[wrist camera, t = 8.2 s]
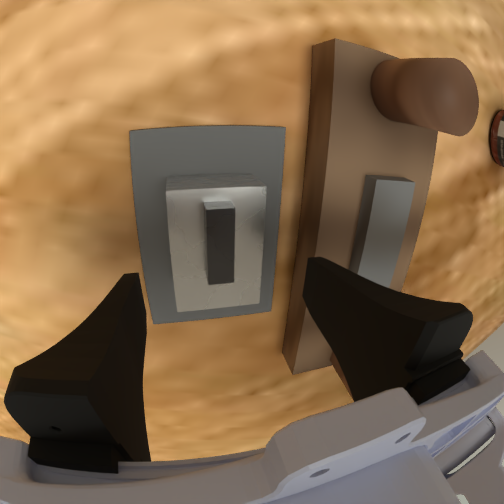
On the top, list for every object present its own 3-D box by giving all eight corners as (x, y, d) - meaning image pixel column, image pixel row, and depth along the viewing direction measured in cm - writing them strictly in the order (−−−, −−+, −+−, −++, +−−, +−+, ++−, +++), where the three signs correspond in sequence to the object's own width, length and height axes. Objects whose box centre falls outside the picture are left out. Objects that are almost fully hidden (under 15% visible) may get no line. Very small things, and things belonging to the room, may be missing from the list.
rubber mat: (269, 307, 20) (271, 311, 20) (153, 320, 19) (153, 324, 18) (283, 126, 15) (285, 127, 15) (130, 130, 13) (129, 131, 13)
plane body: (363, 334, 25) (403, 388, 19) (282, 352, 23) (314, 421, 17) (415, 75, 15) (499, 83, 9) (312, 45, 13) (395, 23, 7)
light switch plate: (247, 276, 18) (264, 314, 15) (175, 282, 17) (178, 324, 14) (251, 172, 15) (274, 192, 12) (167, 176, 14) (165, 197, 11)
